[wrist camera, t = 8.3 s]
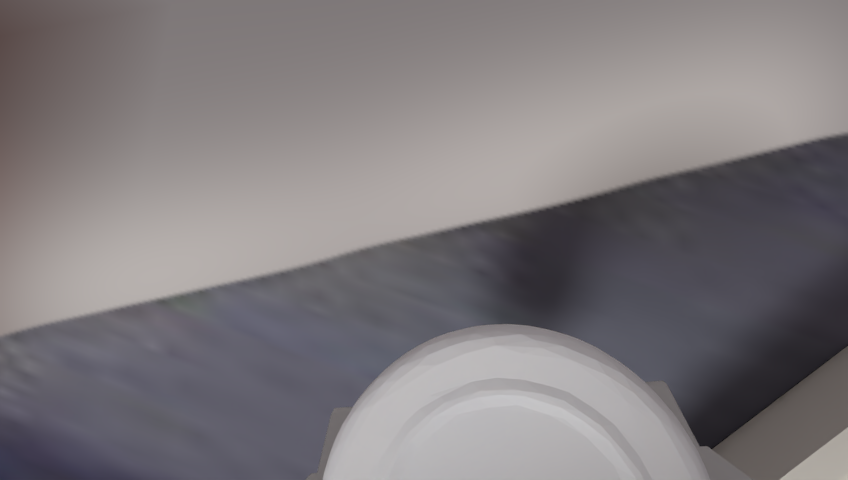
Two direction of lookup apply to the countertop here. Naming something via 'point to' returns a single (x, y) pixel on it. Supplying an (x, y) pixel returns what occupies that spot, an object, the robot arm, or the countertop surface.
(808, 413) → the box
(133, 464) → the countertop surface
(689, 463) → the sprinkles bottle
